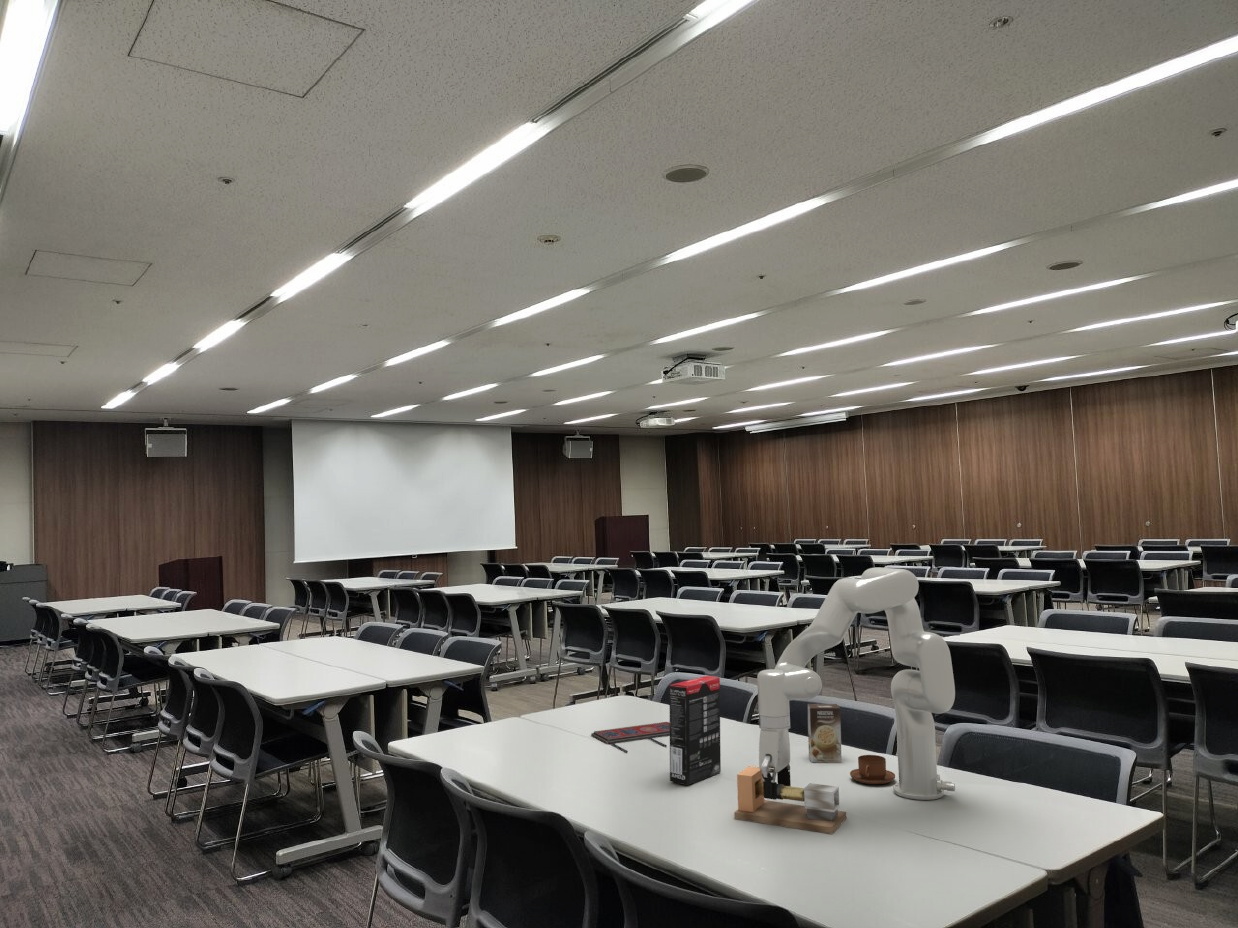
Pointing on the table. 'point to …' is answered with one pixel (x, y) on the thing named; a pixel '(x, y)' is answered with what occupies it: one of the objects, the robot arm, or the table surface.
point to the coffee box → (824, 733)
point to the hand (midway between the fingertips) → (777, 792)
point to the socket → (749, 789)
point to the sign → (633, 733)
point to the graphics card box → (694, 729)
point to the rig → (802, 811)
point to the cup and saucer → (872, 770)
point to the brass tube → (783, 792)
